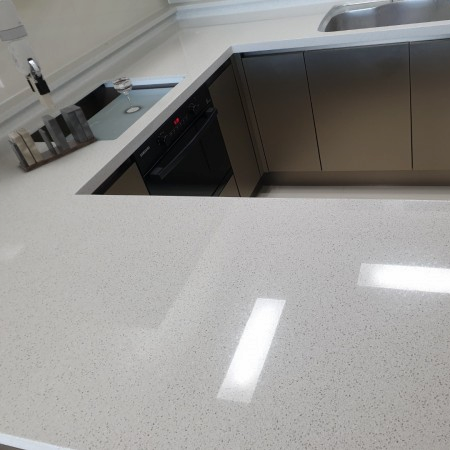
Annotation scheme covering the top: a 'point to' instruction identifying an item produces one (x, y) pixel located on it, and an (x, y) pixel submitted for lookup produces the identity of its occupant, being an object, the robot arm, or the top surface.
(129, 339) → the top surface
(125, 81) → the wineglass
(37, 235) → the top surface
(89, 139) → the book shelf
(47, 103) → the cream book
